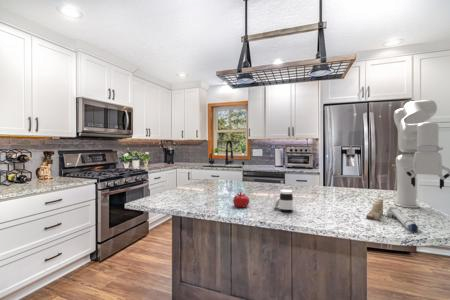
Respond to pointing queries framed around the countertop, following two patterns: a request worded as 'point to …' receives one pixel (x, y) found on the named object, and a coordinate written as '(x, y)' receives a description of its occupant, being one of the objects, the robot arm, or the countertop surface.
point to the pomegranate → (241, 200)
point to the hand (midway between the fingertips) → (427, 187)
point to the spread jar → (284, 201)
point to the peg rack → (376, 210)
